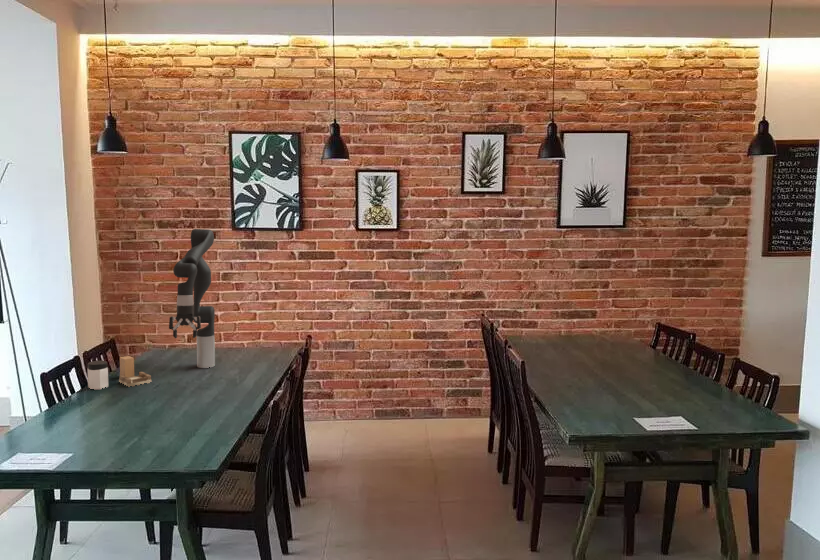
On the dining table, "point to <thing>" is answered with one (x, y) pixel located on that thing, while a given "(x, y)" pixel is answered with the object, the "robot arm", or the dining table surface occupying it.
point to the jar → (97, 374)
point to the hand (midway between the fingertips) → (184, 337)
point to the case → (127, 366)
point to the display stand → (135, 379)
